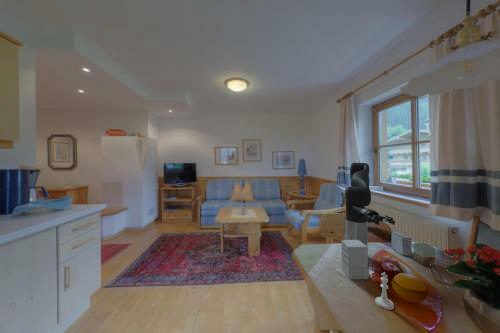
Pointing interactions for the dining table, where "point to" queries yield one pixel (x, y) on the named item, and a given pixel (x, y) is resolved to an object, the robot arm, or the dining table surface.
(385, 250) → the dining table surface
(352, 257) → the supplement box
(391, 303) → the chess piece
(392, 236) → the medicine box
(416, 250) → the tower top block
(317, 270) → the dining table surface
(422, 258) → the tower base block
